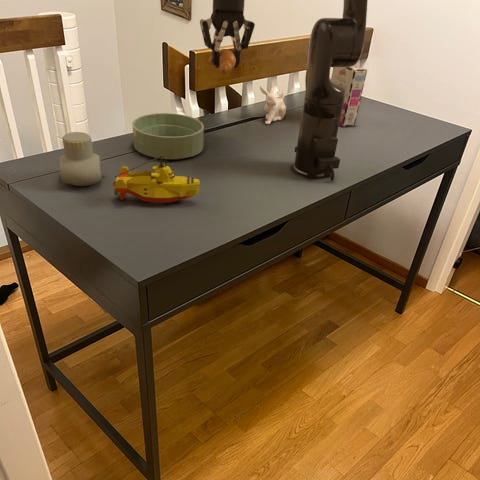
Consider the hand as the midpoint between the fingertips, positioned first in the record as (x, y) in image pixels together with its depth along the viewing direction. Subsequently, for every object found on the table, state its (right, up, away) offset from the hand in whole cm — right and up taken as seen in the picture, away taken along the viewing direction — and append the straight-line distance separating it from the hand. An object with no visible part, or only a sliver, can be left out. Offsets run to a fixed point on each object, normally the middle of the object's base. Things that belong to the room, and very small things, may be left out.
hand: (225, 66), depth 121 cm
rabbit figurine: (+13, -1, +30) cm, 33 cm away
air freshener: (-32, -34, -14) cm, 49 cm away
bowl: (-15, -19, +4) cm, 25 cm away
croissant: (0, 0, 0) cm, 0 cm away
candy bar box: (+36, 0, +32) cm, 48 cm away
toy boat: (-14, -39, -19) cm, 46 cm away
